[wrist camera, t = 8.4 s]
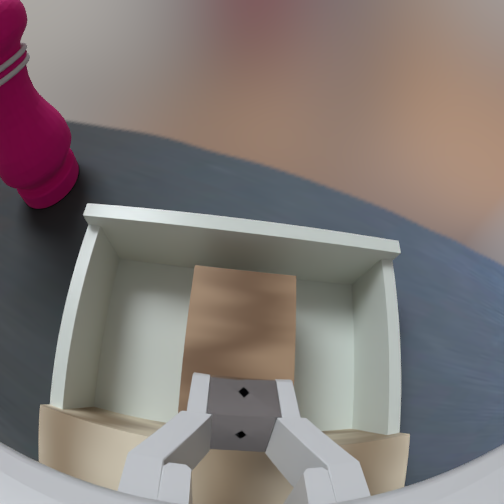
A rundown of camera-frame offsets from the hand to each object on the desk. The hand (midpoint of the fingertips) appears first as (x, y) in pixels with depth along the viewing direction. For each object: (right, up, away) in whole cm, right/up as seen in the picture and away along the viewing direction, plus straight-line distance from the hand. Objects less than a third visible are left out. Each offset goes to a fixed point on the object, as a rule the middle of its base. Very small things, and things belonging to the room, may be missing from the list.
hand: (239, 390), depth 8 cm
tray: (-1, -2, +10) cm, 10 cm away
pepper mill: (-18, +11, +13) cm, 25 cm away
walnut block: (-1, -5, +5) cm, 7 cm away
